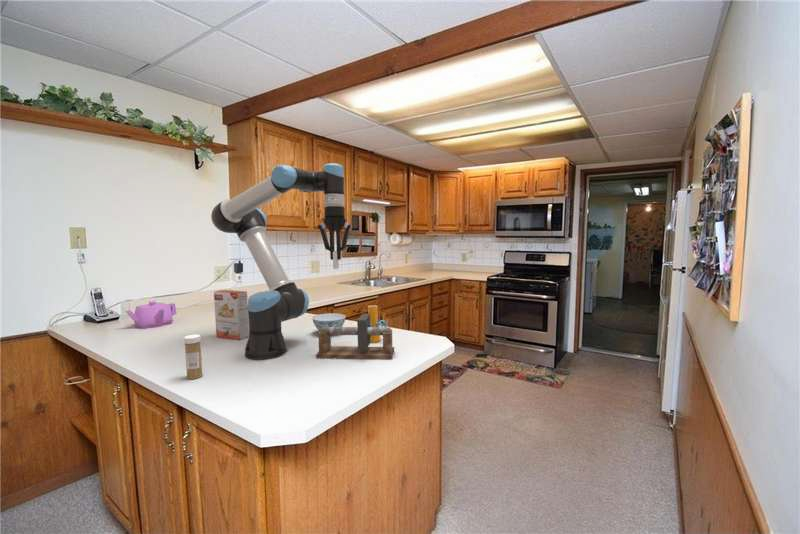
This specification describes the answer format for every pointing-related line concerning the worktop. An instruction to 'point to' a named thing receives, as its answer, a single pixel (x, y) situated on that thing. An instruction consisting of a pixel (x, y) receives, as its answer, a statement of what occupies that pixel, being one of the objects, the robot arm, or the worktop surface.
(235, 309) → the cracker box
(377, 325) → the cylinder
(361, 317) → the collar
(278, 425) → the worktop surface
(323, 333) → the pipe stand
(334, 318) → the chinaware
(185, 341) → the sprinkles bottle
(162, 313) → the teakettle
